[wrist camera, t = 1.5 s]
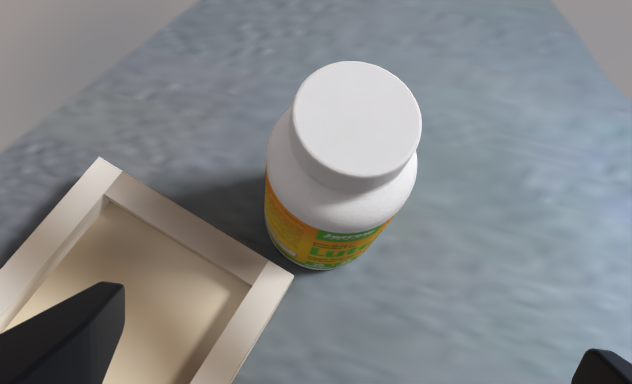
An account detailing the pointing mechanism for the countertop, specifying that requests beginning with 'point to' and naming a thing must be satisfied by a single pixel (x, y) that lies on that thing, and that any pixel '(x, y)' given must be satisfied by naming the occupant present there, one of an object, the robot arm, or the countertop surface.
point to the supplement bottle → (340, 163)
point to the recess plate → (148, 280)
